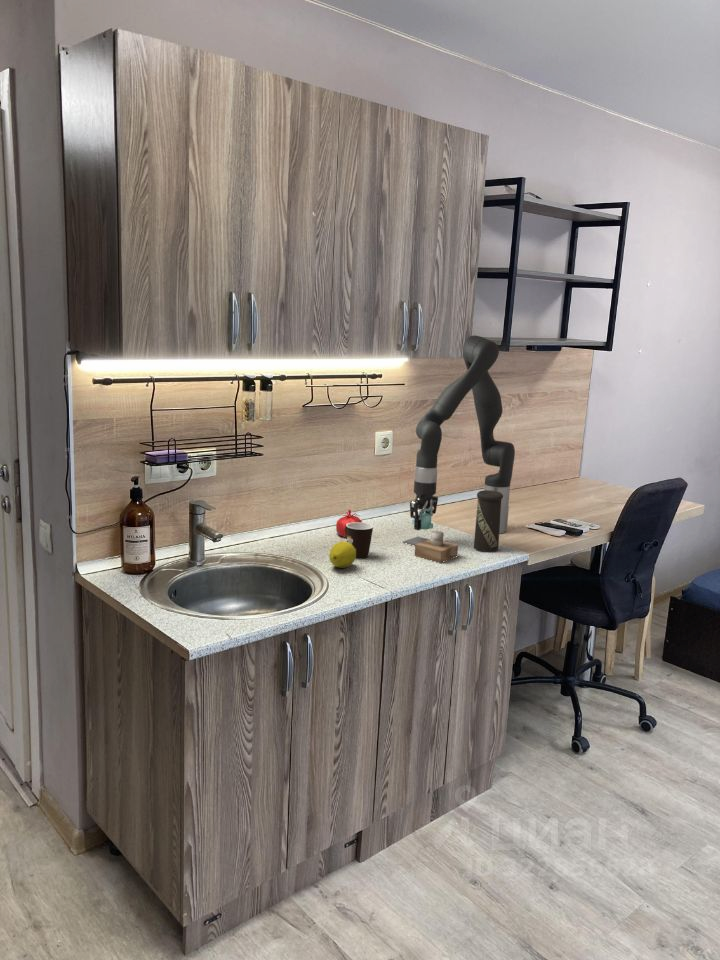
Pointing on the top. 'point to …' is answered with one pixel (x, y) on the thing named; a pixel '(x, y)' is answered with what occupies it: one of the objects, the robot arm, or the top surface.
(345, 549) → the lemon
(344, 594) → the top surface
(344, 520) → the pomegranate
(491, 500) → the container
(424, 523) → the teal rounded tabbed figurine
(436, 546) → the post block
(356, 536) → the coffee mug
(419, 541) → the coaster
